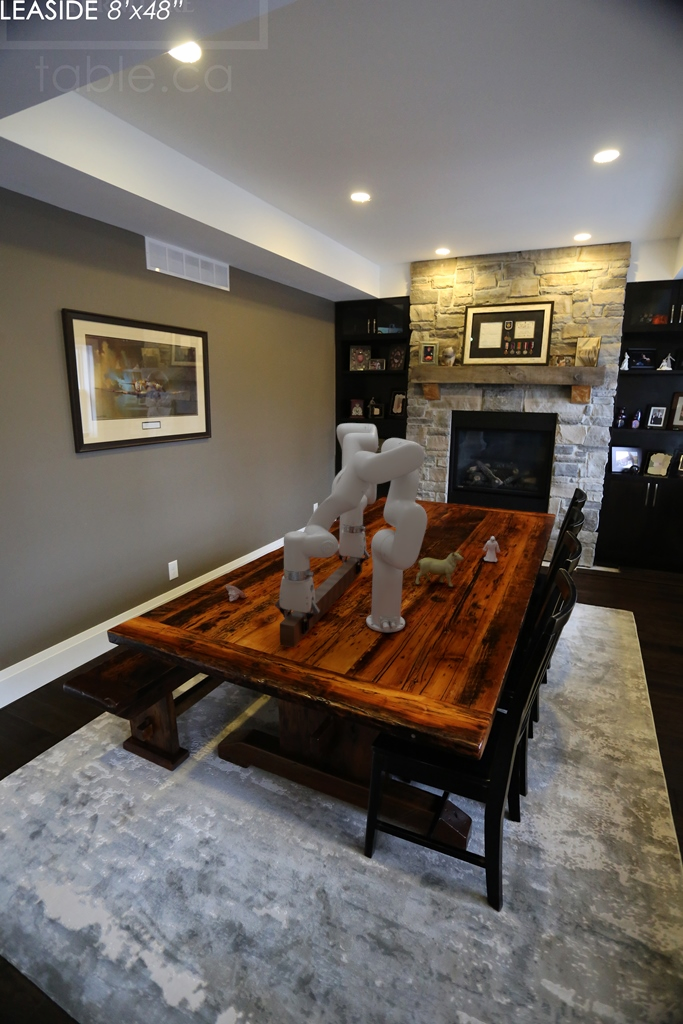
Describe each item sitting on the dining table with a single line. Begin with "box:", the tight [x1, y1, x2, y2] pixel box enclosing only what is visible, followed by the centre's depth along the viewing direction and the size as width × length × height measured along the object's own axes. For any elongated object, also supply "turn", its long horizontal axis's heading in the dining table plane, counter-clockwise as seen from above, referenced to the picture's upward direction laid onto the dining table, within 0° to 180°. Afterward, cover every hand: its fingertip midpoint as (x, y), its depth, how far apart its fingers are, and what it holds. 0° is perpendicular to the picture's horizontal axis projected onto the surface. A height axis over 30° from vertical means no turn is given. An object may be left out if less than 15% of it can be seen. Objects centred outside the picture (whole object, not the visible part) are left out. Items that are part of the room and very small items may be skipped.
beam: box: [279, 556, 364, 649], centre depth 174 cm, size 67×4×7 cm, turn 160°
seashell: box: [224, 584, 247, 602], centre depth 178 cm, size 8×5×8 cm
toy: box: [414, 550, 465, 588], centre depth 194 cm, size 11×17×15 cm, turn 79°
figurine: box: [482, 535, 501, 563], centre depth 223 cm, size 8×8×12 cm
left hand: (351, 572), depth 199 cm, fingers closed on beam, 4 cm apart
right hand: (297, 629), depth 151 cm, fingers closed on beam, 4 cm apart
